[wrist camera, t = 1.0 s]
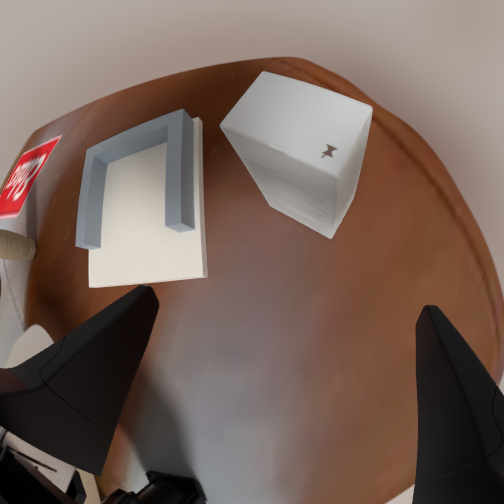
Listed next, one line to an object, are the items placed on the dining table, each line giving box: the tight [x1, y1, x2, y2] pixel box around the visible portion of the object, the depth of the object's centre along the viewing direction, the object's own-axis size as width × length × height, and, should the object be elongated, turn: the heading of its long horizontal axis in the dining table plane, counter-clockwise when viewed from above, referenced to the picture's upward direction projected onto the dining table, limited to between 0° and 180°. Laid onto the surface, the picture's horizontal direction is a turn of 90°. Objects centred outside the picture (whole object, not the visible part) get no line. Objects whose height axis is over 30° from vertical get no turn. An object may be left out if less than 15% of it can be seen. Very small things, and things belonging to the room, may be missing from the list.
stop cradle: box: [76, 109, 208, 288], centre depth 25 cm, size 16×14×4 cm
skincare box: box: [220, 71, 373, 239], centre depth 16 cm, size 6×4×12 cm
